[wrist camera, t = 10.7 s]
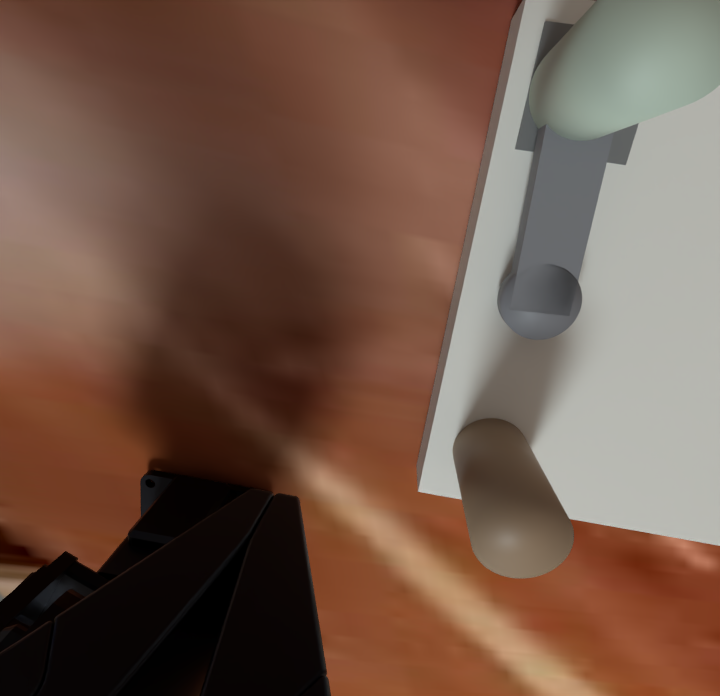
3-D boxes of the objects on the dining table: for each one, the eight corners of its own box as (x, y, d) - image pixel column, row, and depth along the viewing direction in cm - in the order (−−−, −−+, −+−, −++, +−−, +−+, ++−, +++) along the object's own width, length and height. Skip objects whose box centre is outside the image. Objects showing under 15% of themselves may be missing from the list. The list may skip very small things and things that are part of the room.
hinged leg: (569, 338, 16) (642, 393, 11) (485, 329, 16) (521, 379, 11) (643, 37, 13) (784, -63, 8) (540, 31, 13) (618, -71, 8)
